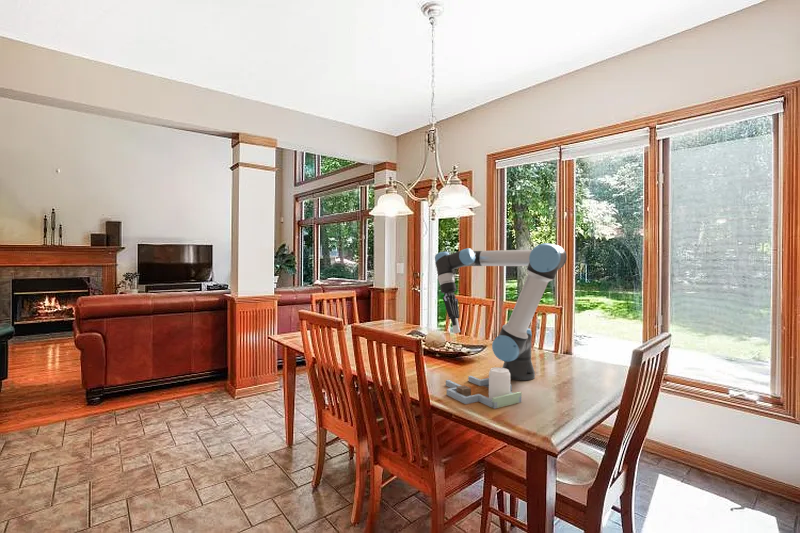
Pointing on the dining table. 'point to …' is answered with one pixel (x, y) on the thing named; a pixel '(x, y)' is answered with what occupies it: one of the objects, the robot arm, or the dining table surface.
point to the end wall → (507, 399)
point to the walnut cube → (464, 390)
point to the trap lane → (473, 398)
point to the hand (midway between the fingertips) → (457, 332)
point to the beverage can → (499, 382)
